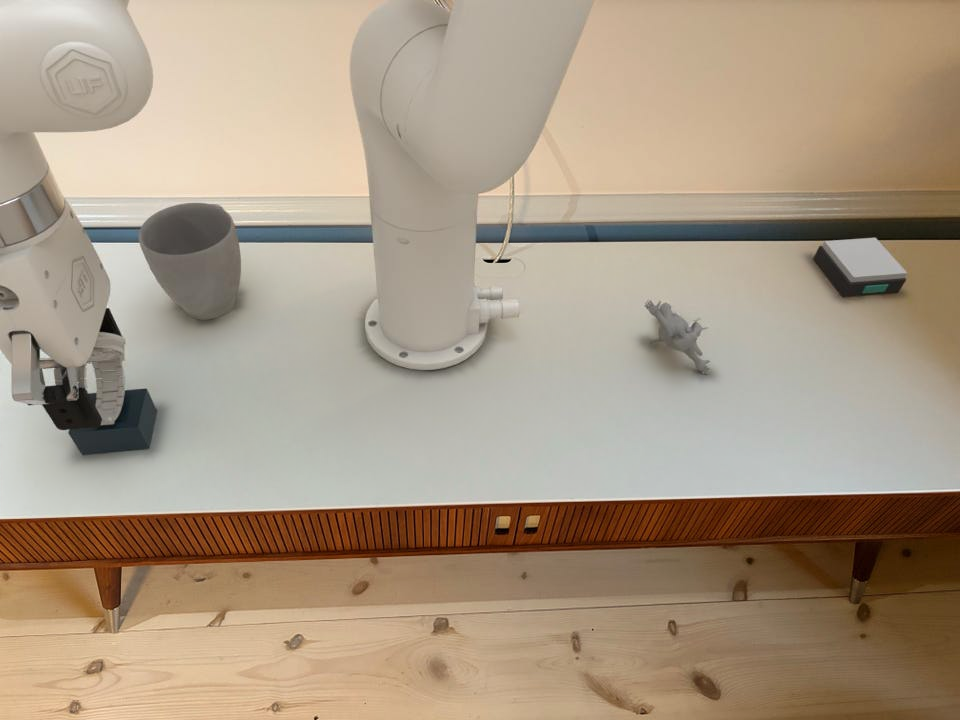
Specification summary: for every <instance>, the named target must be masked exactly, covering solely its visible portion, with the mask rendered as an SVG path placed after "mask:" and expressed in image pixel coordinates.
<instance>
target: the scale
mask: <svg viewBox="0 0 960 720" xmlns="http://www.w3.org/2000/svg"><path fill="white" fill-rule="evenodd" d="M812 259H813V261H814V262H815V264H816V265H817V266H818V268H819V269H820V270H821V271H822V273H823V274H824V275H825V277H826V278H827V279H828V280H829V282H830V283H831V284H832V286H834V288H835V290H836V291H837V293H839V295H840V296H841V297H842V298H853V297H863V296H876V295H887V294H897V293H900V291H901V289H902V288H903V286H904V284H905V283H906V281H907V278H906V277H907V274H908V272H907V271H906V269H904V268H903V266H902V265H901V264H900V263H899V262H898V260H897V259H896V258H894V256H893V255H892V254H891V253H890V251H888V249H886V247H885V246H884V245H883V244H882V243H881V242H880V241H879V240H878V238H877V237H867V238H866V237H863V238H852V239H851V238H850V239H837V240H836V239H833V240H825V241H823V244H822V245H819V246H818V248H817V250H816V252H815V254H814V256H813V257H812Z"/></svg>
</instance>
